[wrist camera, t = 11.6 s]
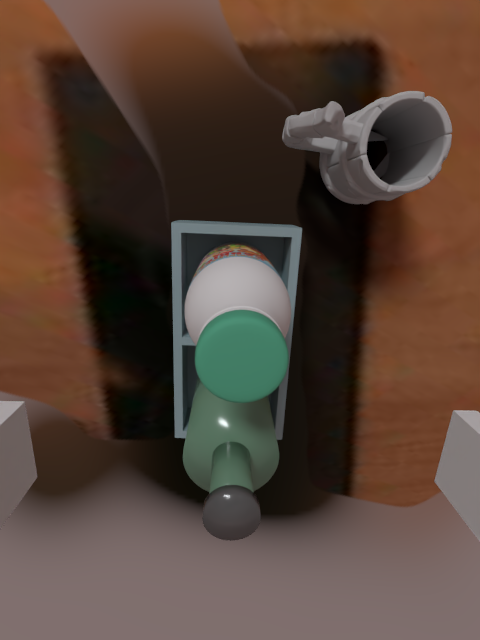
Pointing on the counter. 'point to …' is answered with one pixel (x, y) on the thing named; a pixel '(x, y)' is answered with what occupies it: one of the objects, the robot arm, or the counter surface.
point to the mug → (391, 125)
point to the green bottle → (230, 460)
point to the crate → (186, 257)
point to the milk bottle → (238, 323)
